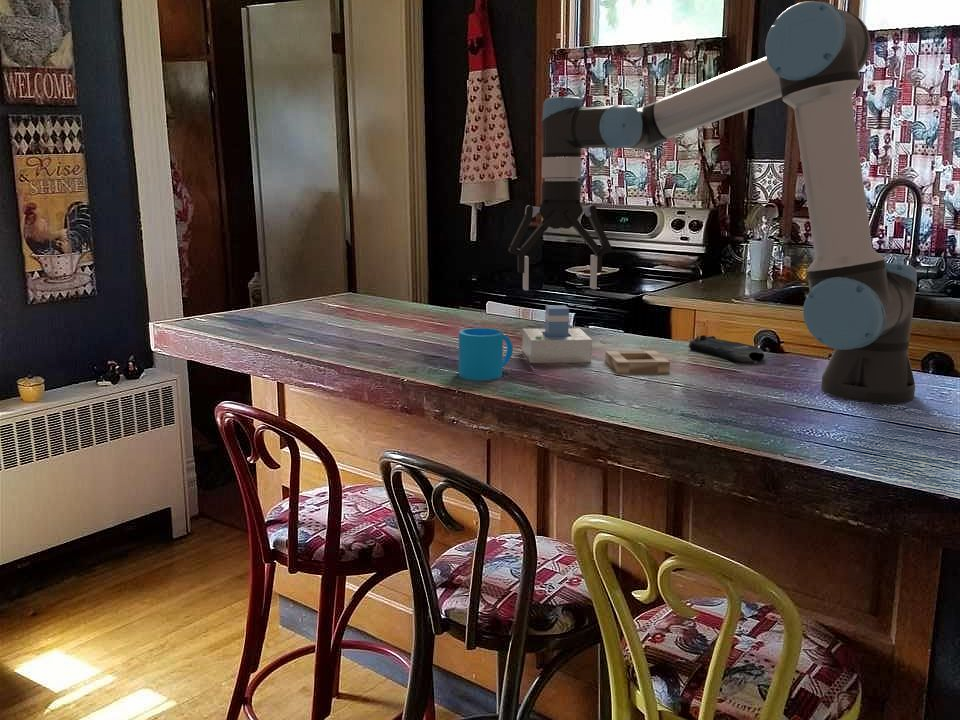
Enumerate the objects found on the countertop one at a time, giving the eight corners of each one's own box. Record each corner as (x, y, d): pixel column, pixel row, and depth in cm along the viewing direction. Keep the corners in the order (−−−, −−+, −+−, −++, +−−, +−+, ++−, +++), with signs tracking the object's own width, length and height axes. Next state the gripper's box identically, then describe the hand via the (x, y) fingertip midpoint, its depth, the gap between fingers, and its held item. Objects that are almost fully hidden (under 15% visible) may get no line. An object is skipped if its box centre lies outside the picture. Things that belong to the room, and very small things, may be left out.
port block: (591, 364, 180) (592, 337, 179) (530, 365, 179) (531, 338, 177) (578, 351, 191) (579, 326, 190) (522, 352, 190) (522, 326, 189)
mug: (478, 382, 165) (479, 338, 163) (449, 374, 171) (449, 331, 169) (526, 372, 173) (527, 330, 171) (497, 365, 179) (497, 324, 177)
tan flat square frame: (669, 374, 172) (670, 361, 172) (617, 375, 171) (617, 362, 171) (654, 362, 182) (655, 350, 182) (604, 363, 181) (605, 351, 181)
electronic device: (685, 361, 192) (744, 364, 180) (686, 334, 192) (745, 336, 180) (713, 361, 198) (773, 364, 186) (714, 335, 198) (774, 337, 186)
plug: (567, 358, 183) (569, 308, 181) (547, 358, 183) (548, 308, 181) (563, 353, 187) (565, 305, 185) (544, 353, 187) (545, 305, 185)
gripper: (619, 179, 182) (616, 285, 187) (494, 180, 180) (495, 287, 184) (629, 179, 175) (625, 290, 179) (499, 180, 172) (499, 292, 177)
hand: (559, 289), depth 182 cm, fingers open, 13 cm apart
